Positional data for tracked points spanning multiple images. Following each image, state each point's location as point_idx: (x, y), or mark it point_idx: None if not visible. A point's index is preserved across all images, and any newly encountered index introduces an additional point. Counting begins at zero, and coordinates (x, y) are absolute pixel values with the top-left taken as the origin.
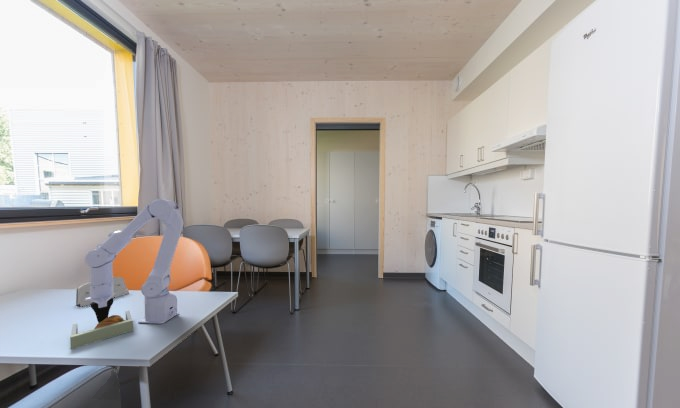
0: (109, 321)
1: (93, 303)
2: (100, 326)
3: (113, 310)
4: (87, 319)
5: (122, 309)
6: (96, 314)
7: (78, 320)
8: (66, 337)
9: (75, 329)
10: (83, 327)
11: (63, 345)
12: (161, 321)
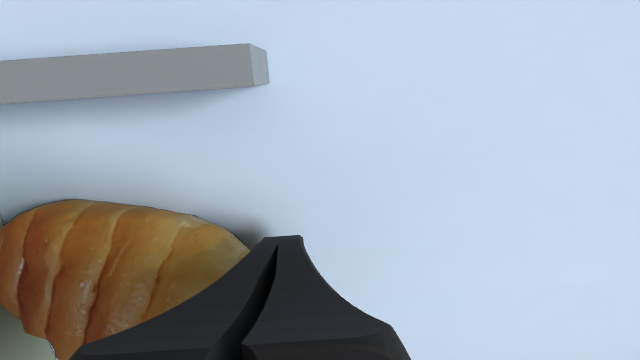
0: None
1: None
2: (48, 280)
3: (617, 289)
4: (571, 124)
5: (573, 342)
6: (212, 288)
7: (621, 52)
8: (207, 8)
9: (44, 91)
10: (368, 114)
11: (20, 11)
12: None
